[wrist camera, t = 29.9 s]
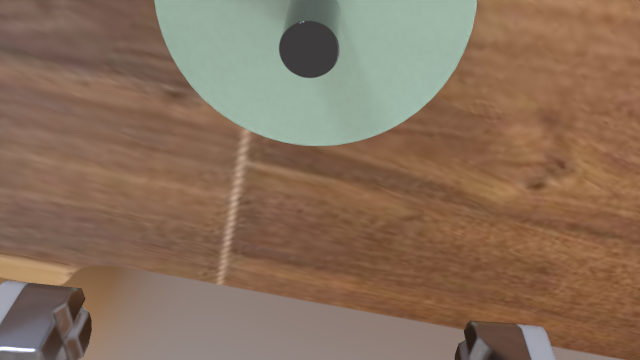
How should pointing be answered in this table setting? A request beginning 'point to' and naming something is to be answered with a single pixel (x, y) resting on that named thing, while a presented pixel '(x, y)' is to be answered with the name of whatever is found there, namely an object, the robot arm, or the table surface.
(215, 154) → the table surface
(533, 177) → the table surface
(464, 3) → the lid
